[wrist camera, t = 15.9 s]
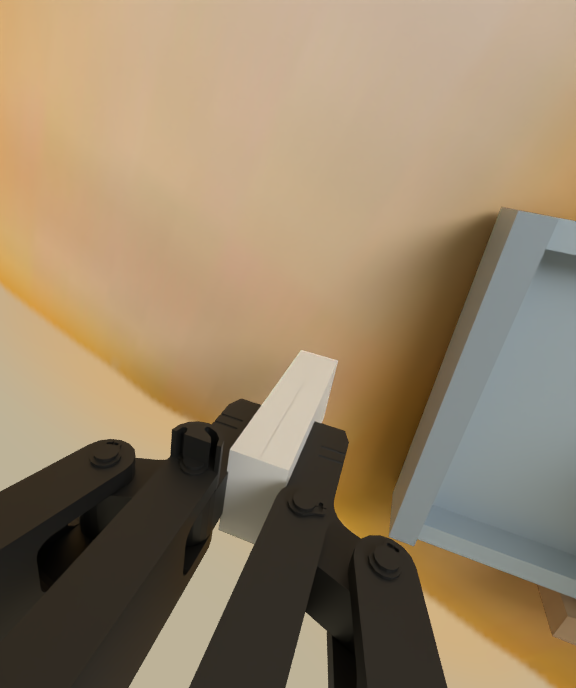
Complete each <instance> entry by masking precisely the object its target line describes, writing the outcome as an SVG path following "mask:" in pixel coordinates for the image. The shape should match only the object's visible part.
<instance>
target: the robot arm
mask: <svg viewBox="0 0 576 688" xmlns="http://www.w3.org/2000/svg"><path fill="white" fill-rule="evenodd" d="M337 364H338V360H335V359H331V358H328V357H324V356H321V355H317V354H314V353H310V352H307V351H303V350H301V351H300V352H299V353H298V355H297V356H296V358H295V359H294V360H293V362H292V363H291V365H290V366H289V367H288V369H287V370H286V372H285V373H284V374H283V376H282V377H281V379H280V380H279V381H278V383H277V384H276V386H275V387H274V388H273V390H272V391H271V393H270V394H269V395H268V397H267V398H266V400H265V401H264V402H263V404H262V405H260V404H256V403H253V402H250V401H247V400H244V399H240V400H237V401H235V402H233V403H231V404H229V405H228V406H227V407H226V409H225V410H224V411H223V412H222V413H221V415H220V416H219V417H218V418H217V419H216V420H215V422H213V424H212V425H211V424H209V423H204V422H187V423H184V424H180V425H178V426H177V427H175V428H174V429H172V440H171V441H172V442H171V456H170V457H169V458H168V459H167V460H152V459H142V458H135V450H134V448H133V447H132V446H131V445H130V444H129V443H126V442H124V441H122V440H114V439H108V440H100V441H97V442H94V443H92V444H89V445H87V446H85V447H84V448H82V449H80V450H78V451H76V452H74V453H72V454H70V455H68V456H66V457H65V458H63V459H61V460H59V461H57V462H56V463H53V464H51V465H50V466H48V467H46V468H44V469H42V470H40V471H38V472H36V473H34V474H33V475H31V476H29V477H27V478H25V479H23V480H21V481H20V482H18V483H16V484H14V485H12V486H10V487H8V488H6V489H4V490H2V491H1V492H0V688H128V687H129V685H130V684H131V682H132V680H133V679H134V677H135V675H136V673H137V672H138V670H139V668H140V666H141V665H142V663H143V661H144V659H145V657H146V656H147V654H148V652H149V651H150V649H151V647H152V645H153V644H154V642H155V640H156V638H157V637H158V635H159V633H160V631H161V630H162V628H163V626H164V624H165V623H166V621H167V619H168V618H169V616H170V614H171V612H172V610H173V609H174V607H175V605H176V603H177V601H178V600H179V598H180V597H181V595H182V593H183V591H184V590H185V588H186V586H187V584H188V582H189V581H190V579H191V577H192V576H193V574H194V572H195V570H196V569H197V567H198V565H199V563H200V562H201V560H202V558H203V556H204V555H205V553H206V551H207V549H208V548H209V545H210V542H211V537H212V530H213V529H214V527H215V525H216V523H217V522H218V520H219V518H220V525H219V530H220V531H223V532H225V533H228V534H230V535H233V536H236V537H238V538H240V539H243V540H245V541H248V542H250V543H253V544H254V547H253V549H252V551H251V553H250V555H249V558H248V560H247V562H246V564H245V566H244V568H243V571H242V573H241V575H240V577H239V579H238V582H237V584H236V586H235V588H234V590H233V592H232V595H231V597H230V599H229V601H228V603H227V606H226V608H225V610H224V612H223V615H222V617H221V619H220V621H219V623H218V625H217V628H216V630H215V632H214V634H213V636H212V638H211V641H210V643H209V645H208V647H207V650H206V652H205V654H204V656H203V658H202V660H201V663H200V665H199V667H198V669H197V671H196V674H195V676H194V678H193V680H192V682H191V685H190V687H189V688H285V687H286V683H287V679H288V675H289V672H290V668H291V664H292V660H293V656H294V653H295V648H296V645H297V641H298V637H299V633H300V630H301V626H302V622H303V618H304V614H305V612H306V613H308V614H309V615H310V616H311V617H312V618H313V619H314V620H315V621H317V622H318V623H319V624H320V625H321V626H322V627H323V628H324V629H326V630H327V655H328V688H447V684H446V681H445V677H444V673H443V669H442V666H441V661H440V658H439V654H438V650H437V646H436V642H435V639H434V634H433V631H432V627H431V623H430V619H429V615H428V612H427V608H426V604H425V600H424V596H423V592H422V588H421V584H420V580H419V577H418V573H417V569H416V566H415V564H414V562H413V560H412V558H411V556H410V555H409V554H408V553H407V551H406V550H405V549H404V548H403V547H402V546H401V545H399V544H398V543H396V542H395V541H393V540H392V539H389V538H386V537H383V536H371V535H369V536H367V537H365V538H363V539H361V538H359V537H358V536H356V535H355V534H353V533H352V532H351V531H349V530H348V529H347V528H346V527H345V526H344V525H343V524H342V523H341V521H340V520H339V519H338V517H337V515H336V513H335V510H334V498H335V494H336V490H337V486H338V482H339V478H340V474H341V471H342V467H343V463H344V459H345V455H346V451H347V448H348V444H349V442H348V439H347V436H346V433H345V431H343V430H340V429H337V428H334V427H331V426H328V425H325V424H322V421H323V419H324V415H325V411H326V407H327V403H328V399H329V395H330V391H331V387H332V383H333V379H334V375H335V371H336V367H337Z"/></svg>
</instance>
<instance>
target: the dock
mask: <svg viewBox="0 0 576 688" xmlns="http://www.w3.org/2000/svg"><path fill="white" fill-rule="evenodd" d="M537 586H538V589H539V592H540V596H541V599H542V603H543V606H544V609H545V613H546V616H547V620H548V623H549V626H550V630H551V633H552V636H553V637H556V638H558V639H561V640H563V641H566V642H568V643H571V644H573V645H576V599H575V598H572V597H570V596H567V595H564V594H562V593H559V592H556V591H554V590H551V589H549V588H546V587H543V586H541V585H538V584H537Z"/></svg>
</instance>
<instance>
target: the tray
mask: <svg viewBox="0 0 576 688" xmlns="http://www.w3.org/2000/svg"><path fill="white" fill-rule="evenodd" d="M389 537H391V538H394V539H396V540H399V541H401V542H404V543H407V544H409V545H412V546H414V545H415V543H416V541H417V539H418V540H421V541H424V542H426V543H429V544H432V545H434V546H437V547H440V548H442V549H445V550H448V551H450V552H453V553H456V554H458V555H461V556H464V557H466V558H469V559H472V560H474V561H477V562H479V563H482V564H485V565H487V566H490V567H493V568H495V569H498V570H501V571H503V572H506V573H509V574H511V575H514V576H517V577H519V578H522V579H525V580H527V581H530V582H533V583H535V584H538V585H541V586H543V587H546V588H549V589H551V590H554V591H556V592H559V593H562V594H564V595H567V596H570V597H572V598H575V599H576V221H573V220H567V219H562V218H557V217H552V216H546V215H541V214H536V213H530V212H525V211H520V210H515V209H509V208H504V207H501V209H500V212H499V214H498V217H497V219H496V222H495V225H494V227H493V230H492V233H491V235H490V238H489V241H488V243H487V246H486V249H485V251H484V254H483V256H482V259H481V262H480V264H479V267H478V270H477V272H476V275H475V278H474V280H473V283H472V285H471V288H470V291H469V293H468V296H467V299H466V301H465V304H464V307H463V309H462V312H461V314H460V317H459V320H458V322H457V325H456V328H455V330H454V333H453V336H452V338H451V341H450V343H449V346H448V349H447V351H446V354H445V357H444V359H443V362H442V365H441V367H440V370H439V373H438V375H437V378H436V380H435V383H434V386H433V388H432V391H431V394H430V396H429V399H428V402H427V404H426V407H425V409H424V412H423V415H422V417H421V420H420V423H419V425H418V428H417V431H416V433H415V436H414V438H413V441H412V444H411V446H410V449H409V452H408V454H407V457H406V460H405V462H404V465H403V468H402V470H401V473H400V475H399V478H398V481H397V483H396V486H395V489H394V491H393V496H392V507H391V518H390V528H389Z"/></svg>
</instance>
